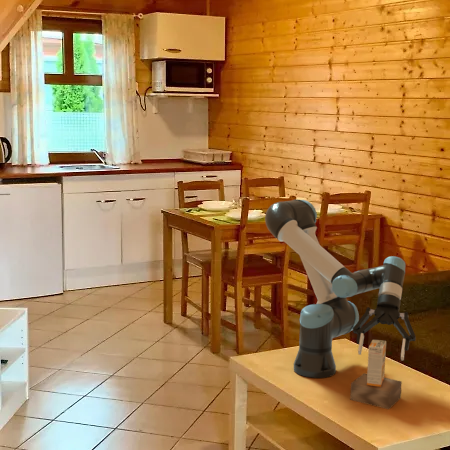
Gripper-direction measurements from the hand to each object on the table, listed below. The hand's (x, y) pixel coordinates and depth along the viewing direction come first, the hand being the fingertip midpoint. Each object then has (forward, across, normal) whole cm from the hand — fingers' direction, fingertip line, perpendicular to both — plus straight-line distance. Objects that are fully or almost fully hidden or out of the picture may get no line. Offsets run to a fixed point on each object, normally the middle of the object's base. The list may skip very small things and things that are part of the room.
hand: (380, 355), depth 230 cm
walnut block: (+11, +1, -10) cm, 15 cm away
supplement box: (+7, +1, -6) cm, 9 cm away
